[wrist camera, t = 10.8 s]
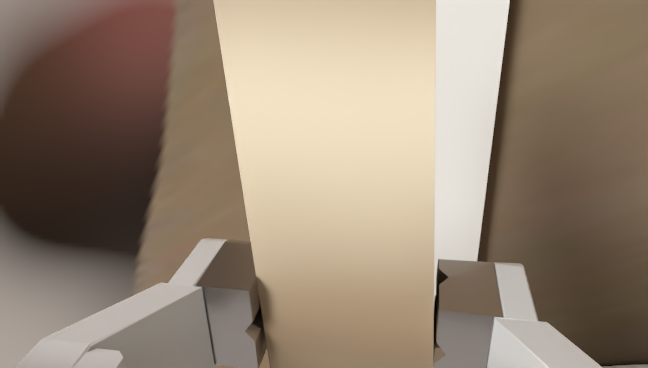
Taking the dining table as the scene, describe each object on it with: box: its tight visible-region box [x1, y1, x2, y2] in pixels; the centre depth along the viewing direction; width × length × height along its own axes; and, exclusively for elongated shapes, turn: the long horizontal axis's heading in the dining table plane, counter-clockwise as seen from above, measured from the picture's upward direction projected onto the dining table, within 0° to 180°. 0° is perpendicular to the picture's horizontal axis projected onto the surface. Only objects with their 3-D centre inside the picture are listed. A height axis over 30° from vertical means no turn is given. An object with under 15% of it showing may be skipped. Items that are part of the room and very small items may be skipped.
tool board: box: [434, 0, 510, 300], centre depth 25 cm, size 24×9×1 cm, turn 2°
